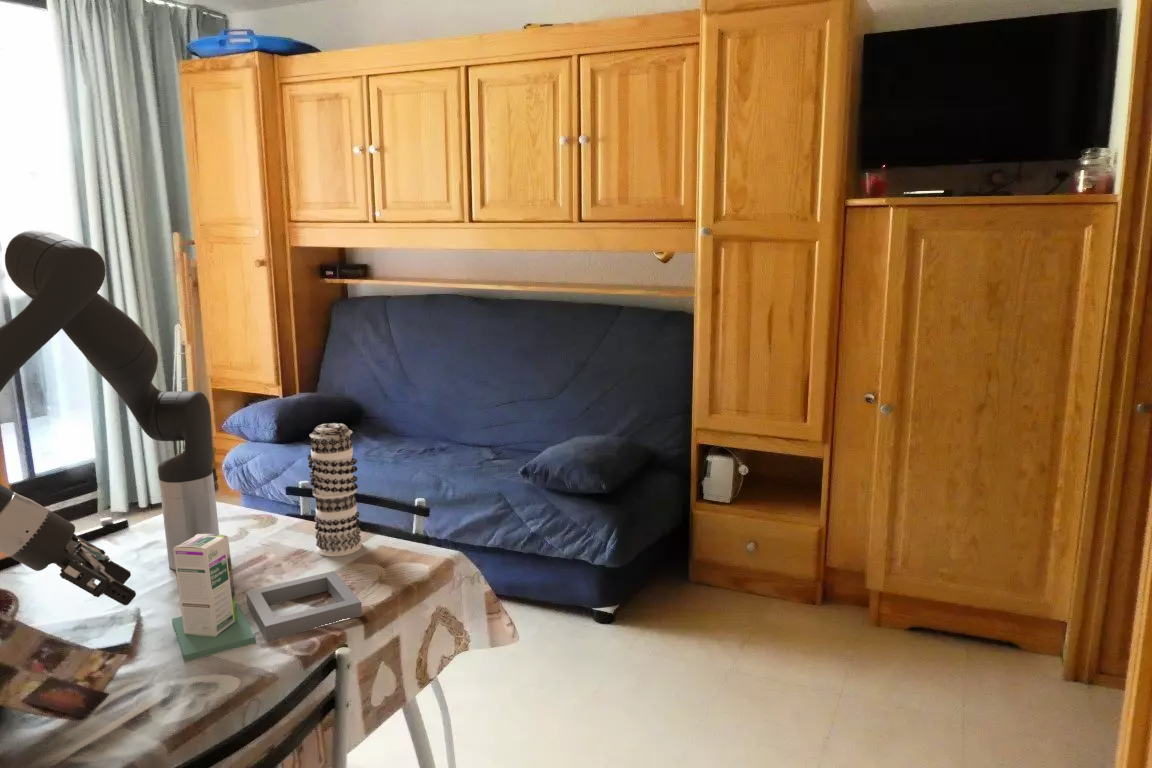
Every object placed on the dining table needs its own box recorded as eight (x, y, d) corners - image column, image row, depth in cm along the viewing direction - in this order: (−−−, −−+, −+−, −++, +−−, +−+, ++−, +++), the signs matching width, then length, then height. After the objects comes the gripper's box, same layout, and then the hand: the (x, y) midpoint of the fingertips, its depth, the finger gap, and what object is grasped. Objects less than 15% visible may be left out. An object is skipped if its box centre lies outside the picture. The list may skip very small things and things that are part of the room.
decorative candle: (305, 549, 163) (295, 427, 159) (345, 536, 170) (337, 418, 166) (331, 561, 157) (322, 434, 153) (372, 546, 164) (364, 424, 160)
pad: (172, 624, 133) (171, 618, 133) (238, 608, 138) (237, 603, 138) (184, 661, 121) (183, 655, 121) (255, 642, 127) (255, 636, 126)
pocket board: (247, 605, 139) (245, 591, 139) (335, 583, 147) (334, 570, 147) (266, 641, 127) (265, 626, 126) (362, 616, 135) (361, 601, 134)
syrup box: (216, 637, 126) (206, 548, 124) (182, 634, 127) (172, 545, 125) (238, 620, 132) (229, 534, 129) (205, 617, 133) (196, 532, 130)
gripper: (46, 523, 109) (152, 584, 117) (46, 496, 121) (142, 553, 129) (4, 570, 107) (114, 629, 115) (7, 538, 119) (108, 593, 127)
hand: (129, 588), depth 122 cm, fingers open, 8 cm apart
